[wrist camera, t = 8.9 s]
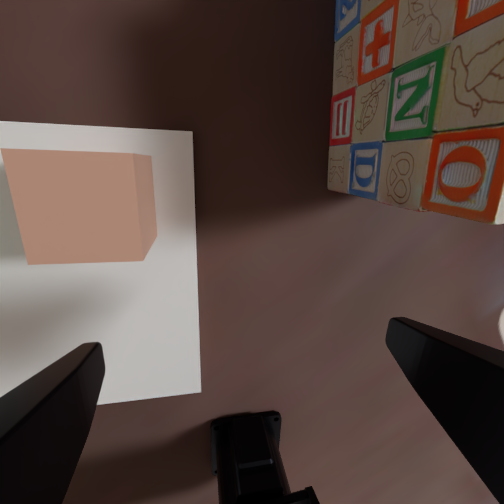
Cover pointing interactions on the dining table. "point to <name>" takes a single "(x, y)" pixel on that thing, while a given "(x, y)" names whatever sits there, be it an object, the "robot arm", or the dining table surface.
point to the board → (107, 278)
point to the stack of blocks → (420, 105)
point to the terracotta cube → (82, 205)
